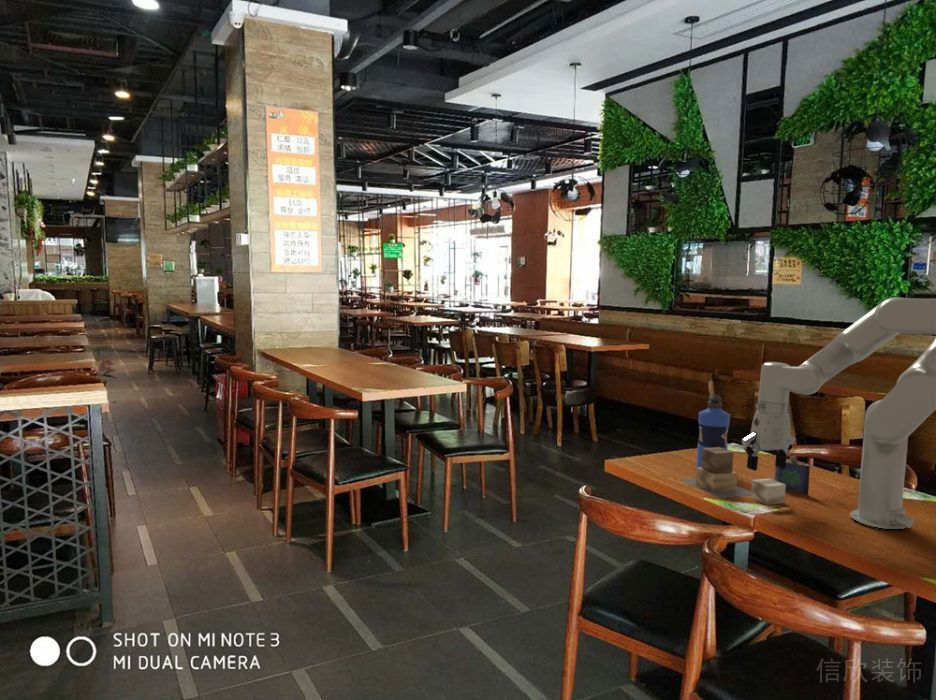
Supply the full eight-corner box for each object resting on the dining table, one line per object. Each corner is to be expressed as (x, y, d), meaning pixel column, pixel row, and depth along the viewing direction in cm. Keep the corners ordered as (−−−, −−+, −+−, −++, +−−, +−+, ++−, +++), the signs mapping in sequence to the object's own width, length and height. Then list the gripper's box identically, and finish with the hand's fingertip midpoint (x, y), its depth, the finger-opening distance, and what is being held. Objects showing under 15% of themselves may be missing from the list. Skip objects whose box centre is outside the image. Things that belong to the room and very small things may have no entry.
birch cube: (784, 505, 182) (785, 484, 182) (766, 507, 181) (767, 486, 180) (768, 499, 188) (769, 478, 187) (750, 500, 186) (752, 480, 186)
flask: (772, 490, 196) (775, 454, 195) (775, 487, 198) (778, 452, 197) (806, 496, 190) (809, 460, 189) (809, 494, 193) (812, 458, 192)
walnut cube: (732, 472, 193) (733, 452, 193) (715, 473, 191) (716, 453, 191) (718, 466, 199) (719, 447, 198) (701, 468, 197) (702, 448, 196)
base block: (736, 489, 193) (737, 473, 193) (713, 492, 191) (714, 475, 190) (718, 481, 201) (719, 465, 200) (695, 483, 198) (696, 467, 198)
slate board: (757, 497, 189) (757, 494, 189) (719, 501, 185) (719, 498, 185) (715, 478, 206) (715, 476, 206) (679, 482, 202) (679, 479, 202)
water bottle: (694, 473, 212) (698, 396, 209) (696, 466, 220) (700, 391, 218) (726, 477, 208) (730, 398, 206) (727, 469, 217) (731, 393, 214)
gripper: (756, 411, 175) (750, 474, 178) (808, 409, 181) (801, 470, 183) (736, 405, 182) (730, 465, 185) (787, 404, 188) (780, 462, 190)
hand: (766, 468), depth 184 cm, fingers open, 9 cm apart
